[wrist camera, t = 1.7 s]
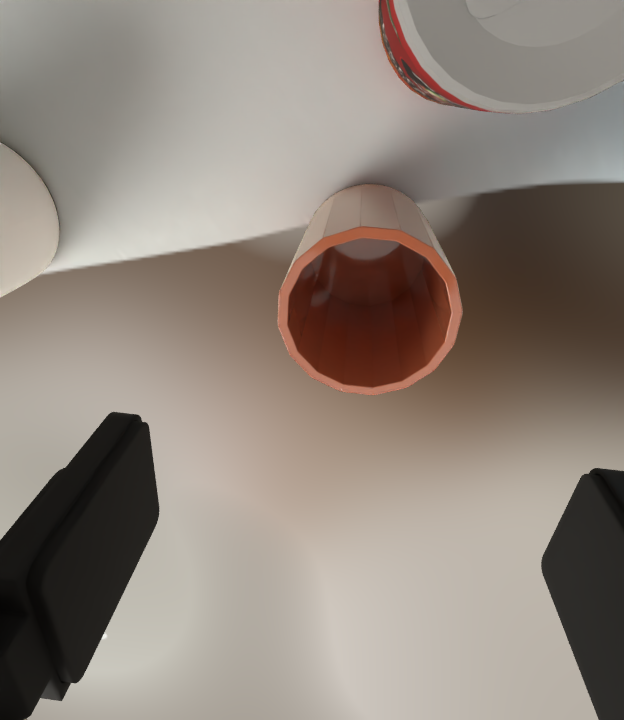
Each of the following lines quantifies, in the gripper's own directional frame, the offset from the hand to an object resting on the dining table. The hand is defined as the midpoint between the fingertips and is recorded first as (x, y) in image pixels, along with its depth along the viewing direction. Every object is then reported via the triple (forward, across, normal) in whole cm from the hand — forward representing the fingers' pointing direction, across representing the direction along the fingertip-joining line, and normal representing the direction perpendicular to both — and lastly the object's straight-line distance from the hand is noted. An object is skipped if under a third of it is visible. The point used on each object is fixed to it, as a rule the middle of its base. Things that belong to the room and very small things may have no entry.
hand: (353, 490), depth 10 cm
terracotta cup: (+18, 0, 0) cm, 18 cm away
